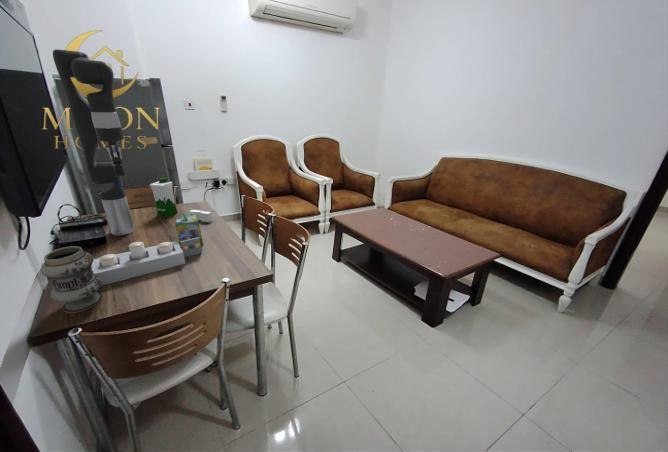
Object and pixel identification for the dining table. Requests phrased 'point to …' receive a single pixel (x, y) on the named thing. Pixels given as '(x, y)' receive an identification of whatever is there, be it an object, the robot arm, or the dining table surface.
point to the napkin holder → (202, 215)
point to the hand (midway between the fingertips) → (120, 175)
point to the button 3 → (165, 247)
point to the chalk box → (188, 228)
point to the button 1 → (108, 260)
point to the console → (138, 264)
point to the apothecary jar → (72, 278)
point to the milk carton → (164, 197)
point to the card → (191, 247)
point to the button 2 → (137, 250)
